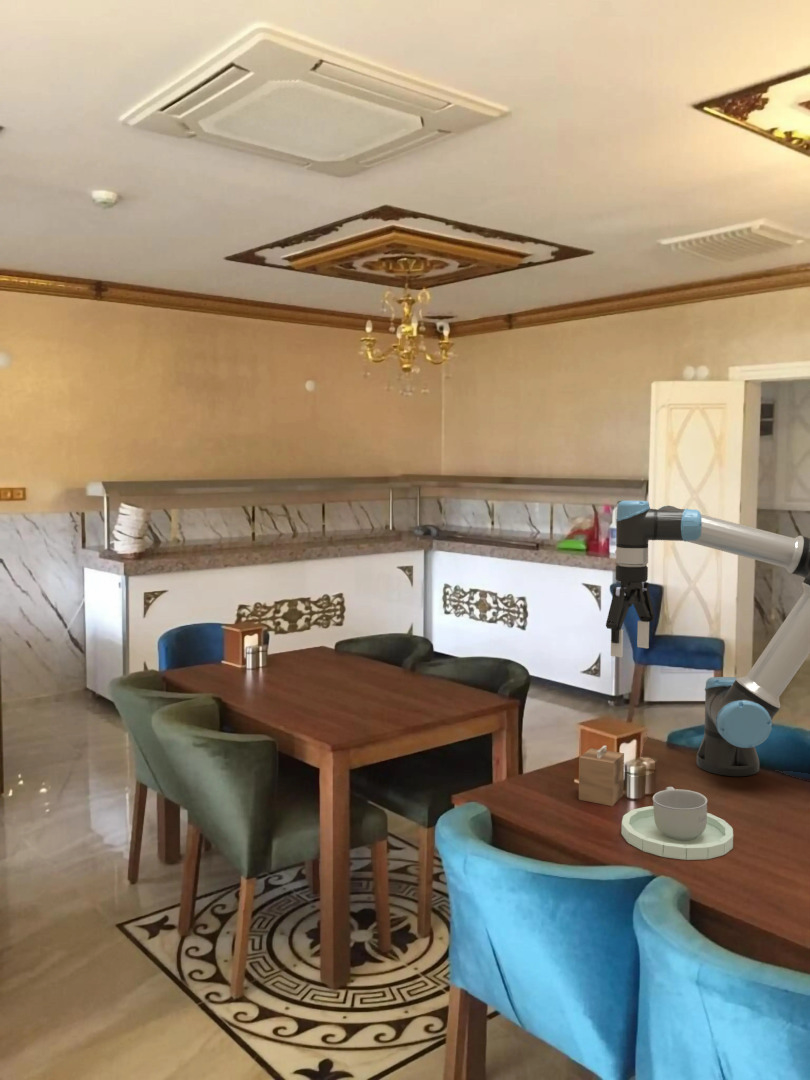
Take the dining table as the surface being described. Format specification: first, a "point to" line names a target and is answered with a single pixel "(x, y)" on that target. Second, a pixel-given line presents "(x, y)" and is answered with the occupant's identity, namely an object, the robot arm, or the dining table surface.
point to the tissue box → (601, 776)
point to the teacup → (680, 813)
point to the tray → (650, 839)
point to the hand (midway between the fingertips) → (630, 652)
